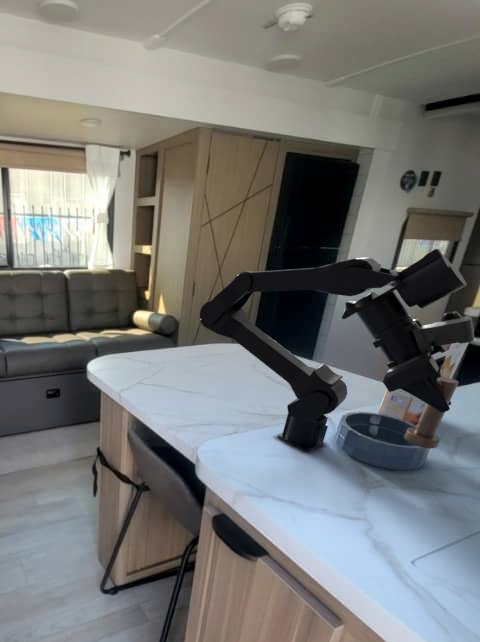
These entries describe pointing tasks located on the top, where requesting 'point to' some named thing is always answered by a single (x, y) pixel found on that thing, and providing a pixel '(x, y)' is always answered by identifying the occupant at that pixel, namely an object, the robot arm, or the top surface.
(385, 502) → the top surface
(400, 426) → the bowl
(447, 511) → the top surface
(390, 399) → the cracker box
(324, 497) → the top surface
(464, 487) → the top surface
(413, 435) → the brown flanged rod
